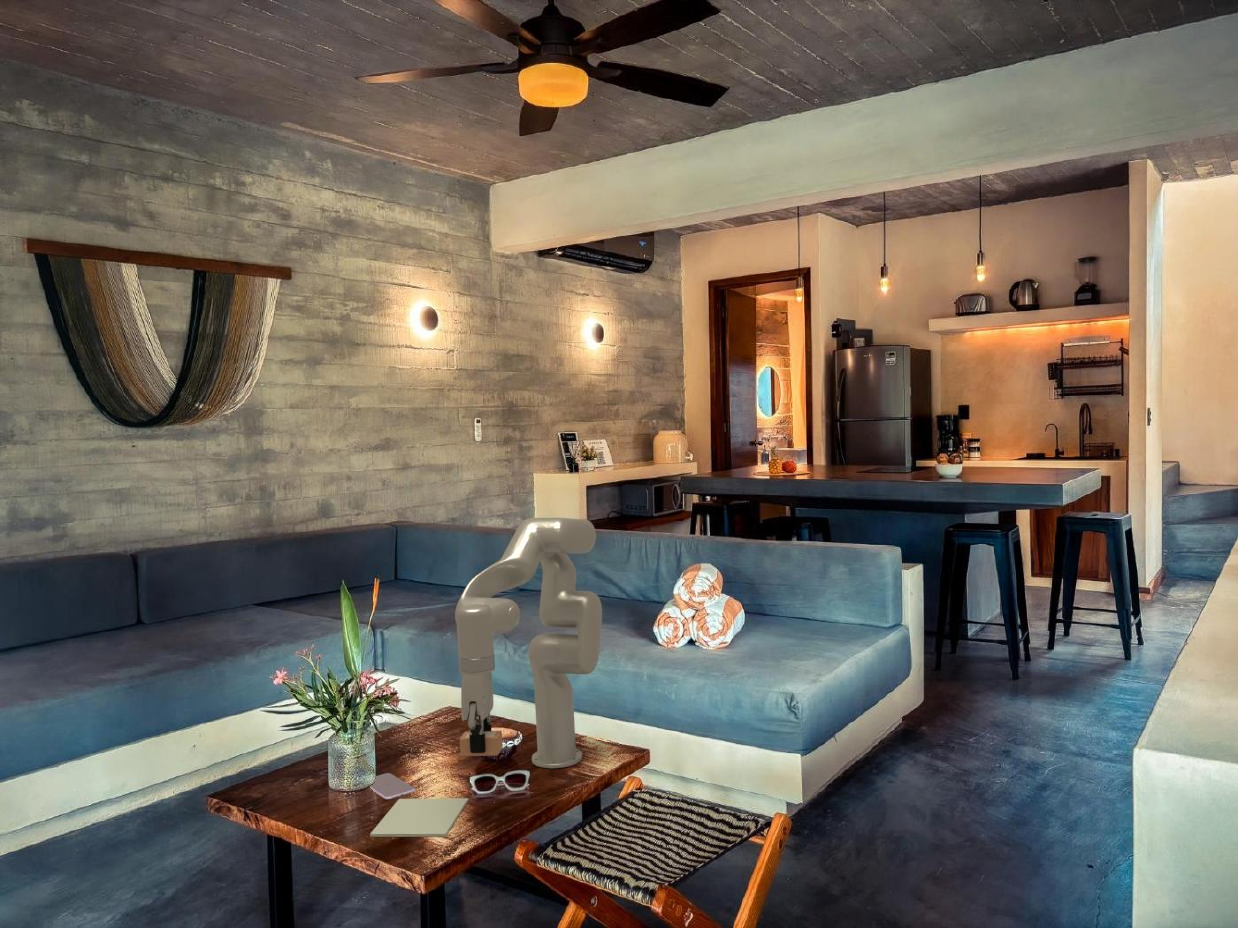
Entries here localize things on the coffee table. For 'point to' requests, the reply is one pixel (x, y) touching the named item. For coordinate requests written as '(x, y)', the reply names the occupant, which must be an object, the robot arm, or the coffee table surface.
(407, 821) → the play mat
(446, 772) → the coffee table surface
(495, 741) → the block
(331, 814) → the coffee table surface
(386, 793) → the mobile phone
